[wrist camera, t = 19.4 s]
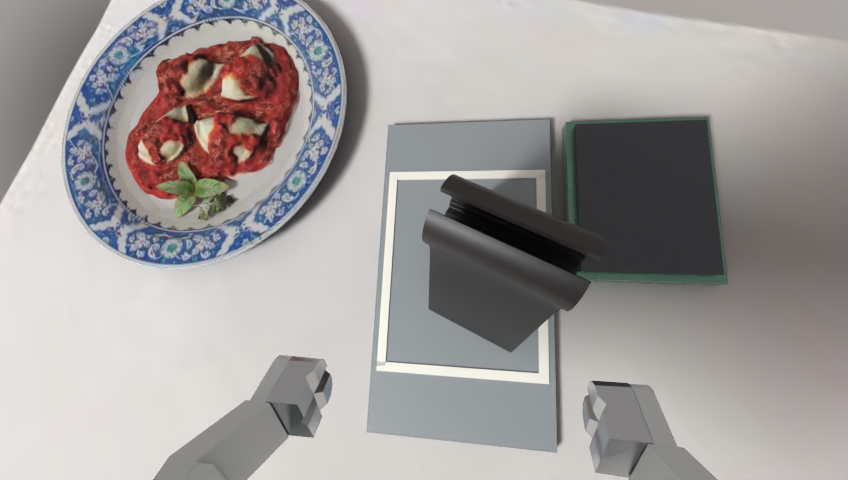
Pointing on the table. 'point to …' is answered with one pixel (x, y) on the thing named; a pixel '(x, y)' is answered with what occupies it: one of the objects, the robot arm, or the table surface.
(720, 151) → the table surface
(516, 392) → the marked board
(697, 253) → the ink pad
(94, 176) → the ceramic plate
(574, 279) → the phone stand
